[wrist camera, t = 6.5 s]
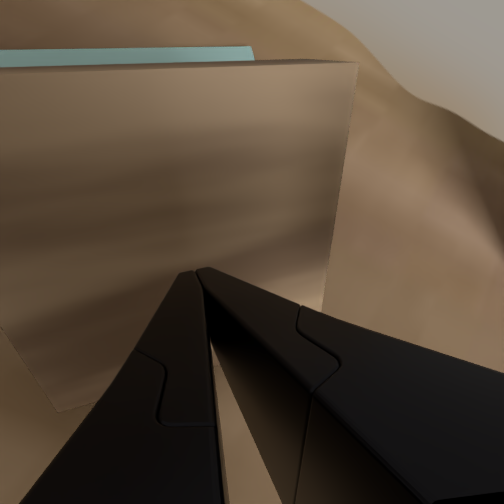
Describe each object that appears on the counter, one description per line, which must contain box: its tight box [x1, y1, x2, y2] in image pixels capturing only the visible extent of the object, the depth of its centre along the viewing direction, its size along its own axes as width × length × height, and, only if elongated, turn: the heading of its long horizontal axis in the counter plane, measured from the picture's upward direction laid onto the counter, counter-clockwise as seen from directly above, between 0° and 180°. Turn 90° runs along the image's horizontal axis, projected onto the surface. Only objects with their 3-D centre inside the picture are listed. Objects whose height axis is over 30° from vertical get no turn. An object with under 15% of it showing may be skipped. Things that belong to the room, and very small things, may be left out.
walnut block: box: [0, 59, 359, 413], centre depth 12 cm, size 4×12×12 cm
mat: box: [0, 46, 255, 67], centre depth 18 cm, size 16×16×1 cm
